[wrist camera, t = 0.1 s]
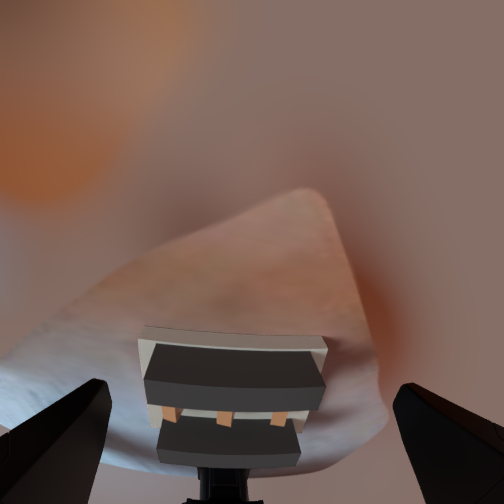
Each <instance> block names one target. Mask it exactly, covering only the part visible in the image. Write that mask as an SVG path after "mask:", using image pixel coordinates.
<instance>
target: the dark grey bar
mask: <svg viewBox="0 0 504 504" xmlns="http://www.w3.org/2000/svg"><path fill="white" fill-rule="evenodd" d="M270 423H271V419H233V422H232V425H231V427H229V426H224V425H220V424H217V418H208V417H195V416H184V415H180V417H179V419H178V421H177V423H175V422H172V421H169V420H166V419H162V424H161V429H160V434H159V439H158V444H157V452H158V456H159V460H160V462H161V463H168V464H176V465H185V466H196V467H210V468H276V467H291V466H296V464H297V461H298V459H299V457H300V454H301V450H300V446H299V443H298V439H297V435H296V431H295V427H294V424H293V420H292V418H286V422H285V425H284V426H277V425H270Z"/></svg>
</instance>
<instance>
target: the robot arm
mask: <svg viewBox="0 0 504 504" xmlns="http://www.w3.org/2000/svg"><path fill="white" fill-rule="evenodd" d="M111 409H112V399H111V396H110V392H109V388H108V384H107V382H106V381H104V380H100V379H96V378H93V379H91V380H89V381H88V382H86V383H84V384H83V385H81V386H80V387H78V388H77V389H75V390H74V391H72V392H71V393H69V394H67V395H66V396H64V397H63V398H61V399H60V400H58V401H56V402H55V403H53V404H52V405H50V406H49V407H47V408H45V409H44V410H42V411H41V412H39V413H37V414H36V415H34V416H33V417H31V418H30V419H28V420H26V421H25V422H23V423H22V424H20V425H18V426H17V427H15V428H13V429H12V430H10V431H9V433H5V434H4V435H2V436H0V504H88V500H89V496H90V493H91V489H92V486H93V482H94V479H95V475H96V472H97V468H98V465H99V462H100V459H101V455H102V452H103V448H104V443H105V438H106V433H107V428H108V423H109V418H110V413H111ZM393 410H394V414H395V417H396V421H397V424H398V427H399V431H400V434H401V438H402V441H403V444H404V447H405V449H406V452H407V454H408V457H409V460H410V462H411V465H412V467H413V470H414V473H415V475H416V478H417V480H418V483H419V486H420V489H421V491H422V494H423V497H424V500H425V503H426V504H504V427H502V426H500V425H498V424H496V423H492V422H491V421H489V420H487V419H485V418H483V417H480V416H479V415H477V414H475V413H472V412H470V411H468V410H466V409H464V408H462V407H460V406H458V405H456V404H454V403H452V402H450V401H448V400H446V399H444V398H442V397H440V396H438V395H437V394H435V393H433V392H430V391H429V390H427V389H425V388H423V387H421V386H419V385H417V384H415V383H406V384H403V385H402V386H401V387H400V389H399V391H398V393H397V395H396V398H395V399H394V401H393ZM249 470H250V468H210V467H197V471H198V479H199V480H200V500H193V499H190V498H187V502H185V503H182V504H264V503H263V500H259V501H249V497H248V487H247V479H248V475H249Z"/></svg>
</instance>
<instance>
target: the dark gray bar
mask: <svg viewBox="0 0 504 504" xmlns="http://www.w3.org/2000/svg"><path fill="white" fill-rule="evenodd" d="M143 381H144V387H145V394H146V399H147V404H151V405H158V406H165V407H174V408H183V409H193V410H206V411H223V412H292V411H309V410H318V408H319V405H320V402H321V399H322V396H323V393H324V390H325V387H326V386H325V383H324V381H323V379H322V376H321V374H320V372H319V370H318V367H317V365H316V363H315V361H314V358H313V356H312V354H311V352H310V351H255V350H231V349H215V348H201V347H189V346H179V345H169V344H160V343H156V345H155V348H154V350H153V353H152V356H151V359H150V361H149V364H148V367H147V370H146V373H145V376H144V378H143Z"/></svg>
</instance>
